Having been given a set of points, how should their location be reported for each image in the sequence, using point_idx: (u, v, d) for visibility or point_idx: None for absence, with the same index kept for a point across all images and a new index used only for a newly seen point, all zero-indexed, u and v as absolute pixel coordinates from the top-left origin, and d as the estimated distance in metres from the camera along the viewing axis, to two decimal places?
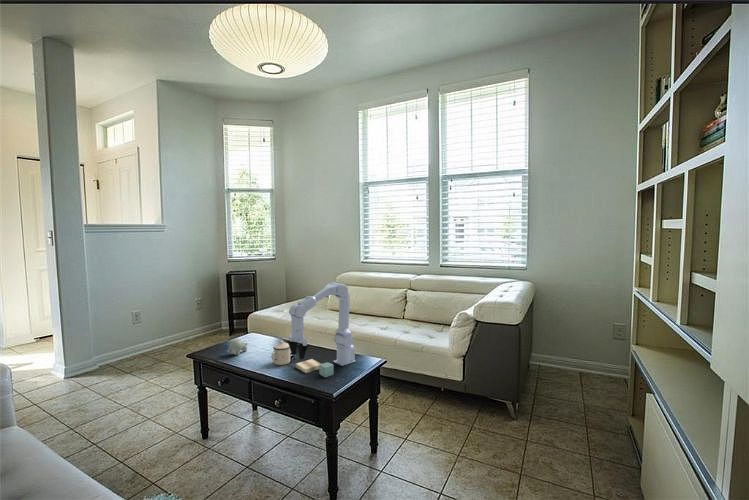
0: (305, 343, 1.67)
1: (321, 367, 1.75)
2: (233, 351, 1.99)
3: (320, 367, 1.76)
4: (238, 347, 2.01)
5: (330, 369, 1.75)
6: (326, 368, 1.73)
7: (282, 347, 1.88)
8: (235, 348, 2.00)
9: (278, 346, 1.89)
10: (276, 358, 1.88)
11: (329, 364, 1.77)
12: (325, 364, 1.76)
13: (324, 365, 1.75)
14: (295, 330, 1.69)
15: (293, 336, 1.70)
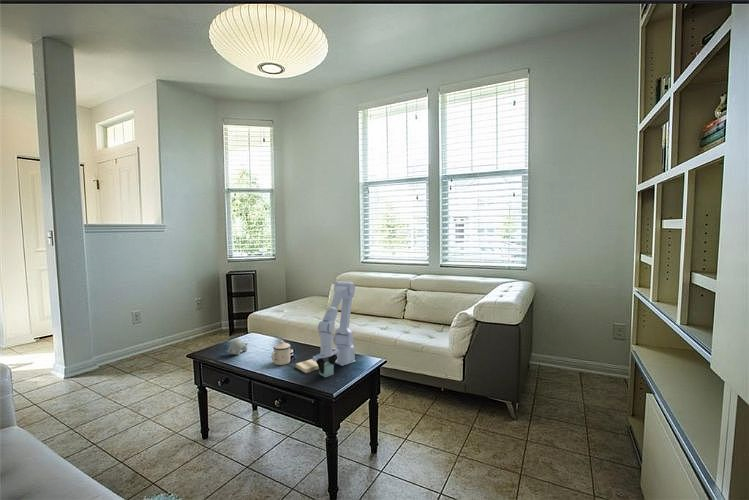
0: (313, 358, 1.71)
1: None
2: (233, 351, 1.99)
3: None
4: (238, 347, 2.01)
5: (330, 369, 1.75)
6: (326, 368, 1.73)
7: (282, 347, 1.88)
8: (235, 348, 2.00)
9: (278, 346, 1.89)
10: (276, 358, 1.88)
11: (329, 364, 1.77)
12: (325, 364, 1.76)
13: (324, 365, 1.75)
14: None
15: None
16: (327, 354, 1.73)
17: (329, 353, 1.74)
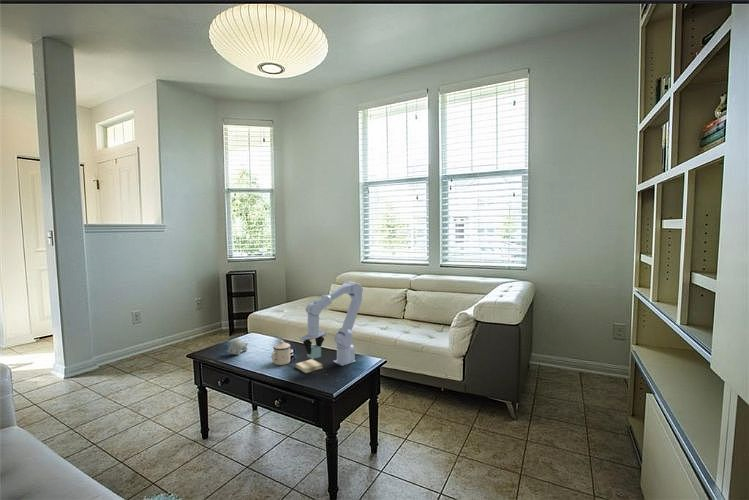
0: (301, 339, 1.76)
1: None
2: (233, 351, 1.99)
3: None
4: (238, 347, 2.01)
5: (317, 351, 1.80)
6: (314, 350, 1.78)
7: (282, 347, 1.88)
8: (235, 348, 2.00)
9: (278, 346, 1.89)
10: (276, 358, 1.88)
11: (317, 346, 1.82)
12: (313, 346, 1.81)
13: (312, 347, 1.80)
14: None
15: None
16: (314, 335, 1.78)
17: (316, 334, 1.79)
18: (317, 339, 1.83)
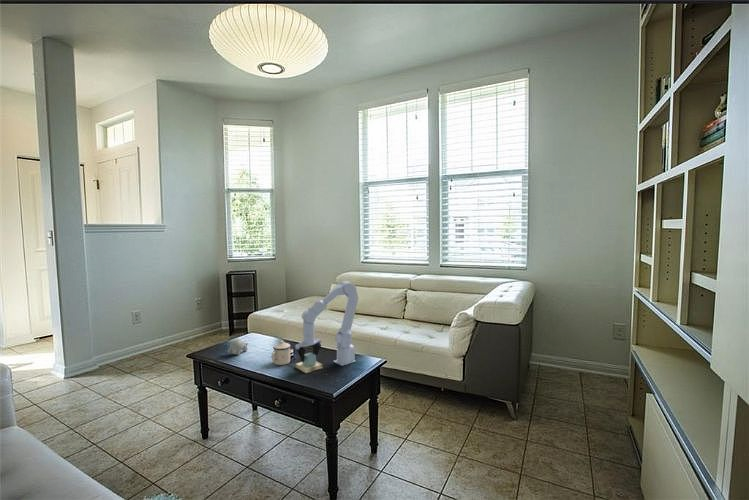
0: (296, 346, 1.79)
1: (304, 357, 1.83)
2: (234, 351, 1.99)
3: None
4: (239, 347, 2.01)
5: (313, 359, 1.83)
6: (309, 358, 1.81)
7: (282, 347, 1.88)
8: (236, 348, 2.00)
9: (278, 346, 1.89)
10: (276, 358, 1.88)
11: (312, 354, 1.84)
12: (308, 354, 1.84)
13: (307, 355, 1.83)
14: None
15: None
16: (309, 342, 1.81)
17: (311, 342, 1.82)
18: (314, 346, 1.87)
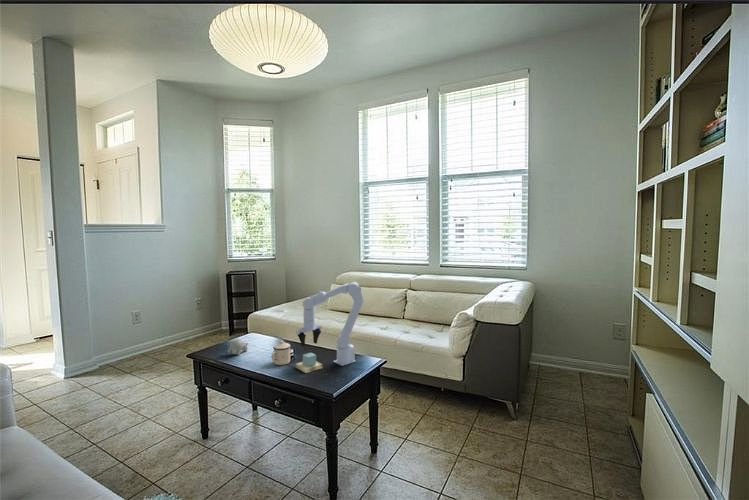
0: (297, 332, 1.86)
1: (304, 357, 1.83)
2: (234, 351, 1.99)
3: (303, 357, 1.83)
4: (239, 347, 2.01)
5: (313, 359, 1.83)
6: (309, 358, 1.81)
7: (282, 347, 1.88)
8: (236, 348, 2.00)
9: (278, 346, 1.89)
10: (276, 358, 1.88)
11: (312, 354, 1.84)
12: (308, 354, 1.84)
13: (307, 355, 1.83)
14: None
15: None
16: (309, 328, 1.88)
17: (311, 327, 1.88)
18: (314, 331, 1.94)
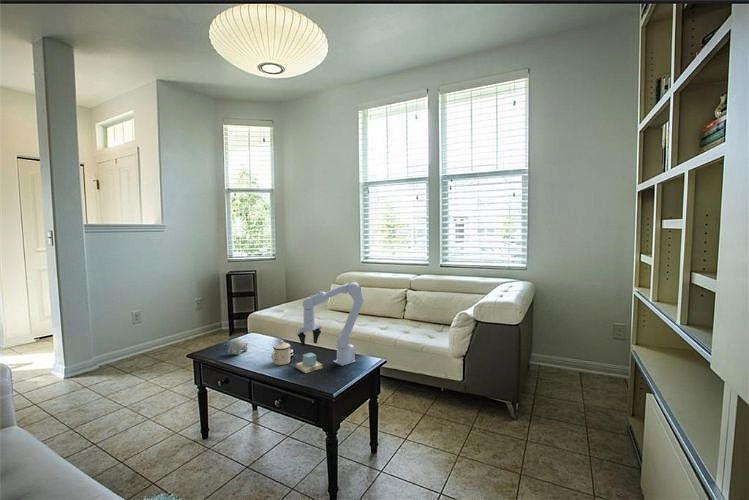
0: (297, 332, 1.86)
1: (304, 357, 1.83)
2: (234, 351, 1.99)
3: (303, 357, 1.83)
4: (239, 347, 2.01)
5: (313, 359, 1.83)
6: (309, 358, 1.81)
7: (282, 347, 1.88)
8: (236, 348, 2.00)
9: (278, 346, 1.89)
10: (276, 358, 1.88)
11: (312, 354, 1.84)
12: (308, 354, 1.84)
13: (307, 355, 1.83)
14: None
15: None
16: (309, 328, 1.88)
17: (311, 327, 1.88)
18: (314, 331, 1.94)
